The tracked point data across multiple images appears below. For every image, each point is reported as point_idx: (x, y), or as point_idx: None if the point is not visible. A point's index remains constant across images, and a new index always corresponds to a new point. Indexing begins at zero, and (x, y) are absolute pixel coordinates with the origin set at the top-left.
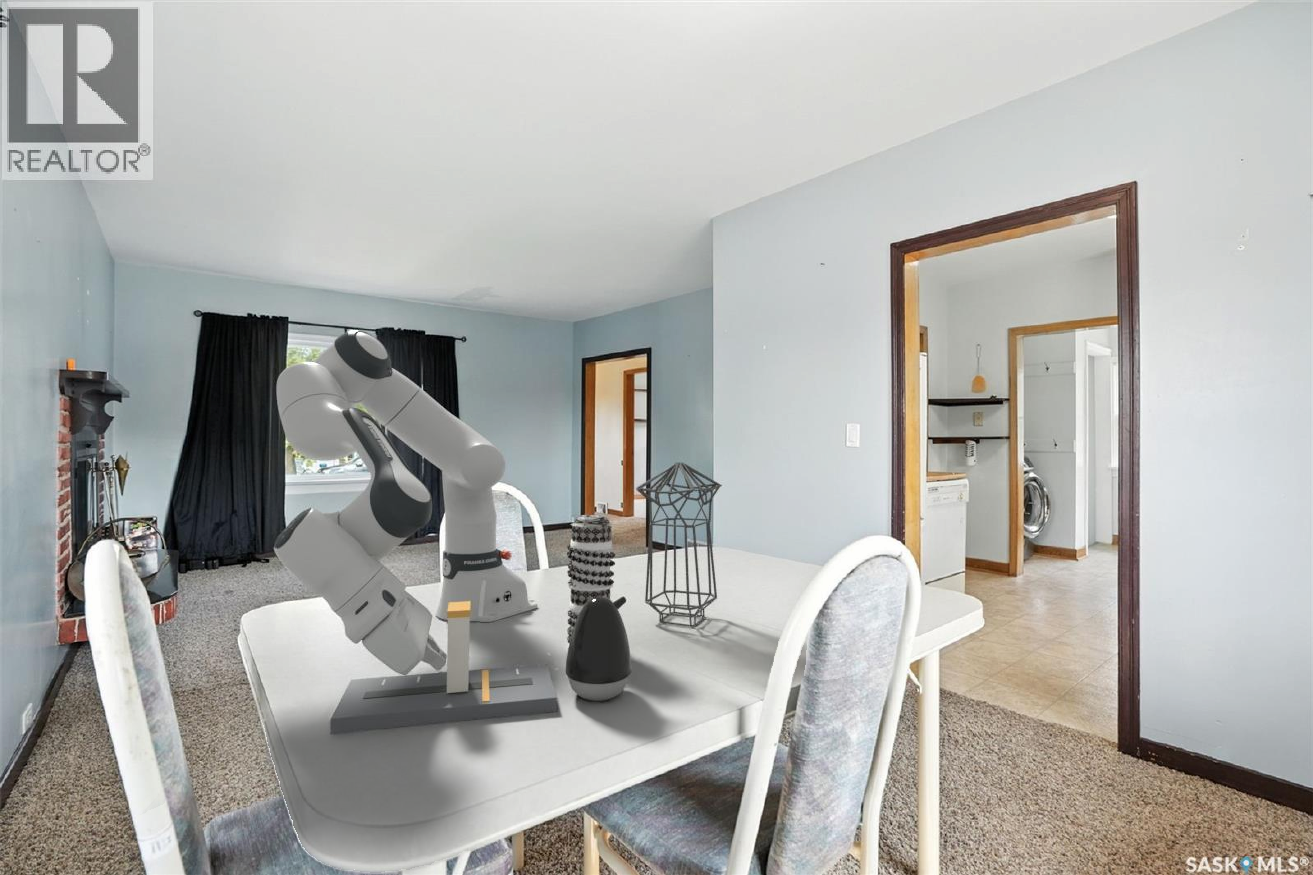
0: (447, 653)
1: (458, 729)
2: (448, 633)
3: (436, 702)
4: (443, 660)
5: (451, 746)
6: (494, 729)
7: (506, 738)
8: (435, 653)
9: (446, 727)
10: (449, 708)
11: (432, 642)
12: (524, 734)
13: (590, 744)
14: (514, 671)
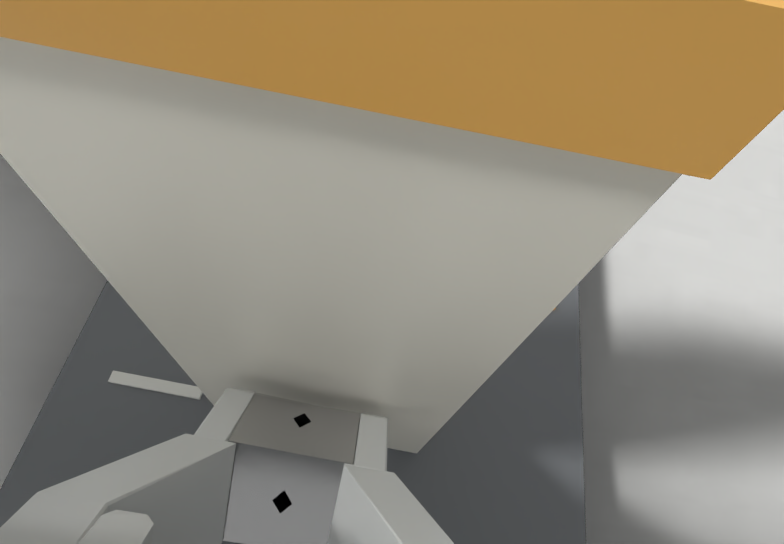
0: (471, 391)
1: (632, 444)
2: (545, 305)
3: (498, 525)
4: (385, 434)
5: (781, 496)
6: (652, 317)
7: (725, 297)
8: (418, 505)
9: (604, 493)
10: (579, 464)
11: (138, 509)
12: (701, 242)
13: (773, 123)
14: None
